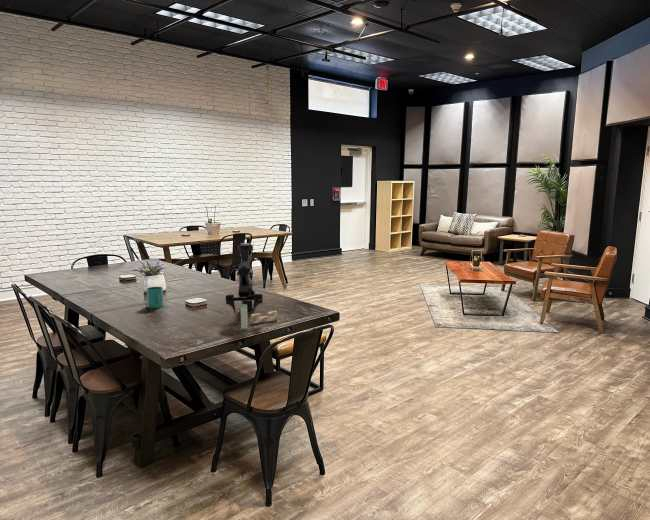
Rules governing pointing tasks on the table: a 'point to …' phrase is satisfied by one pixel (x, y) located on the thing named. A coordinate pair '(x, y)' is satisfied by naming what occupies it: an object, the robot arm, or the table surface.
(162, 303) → the cup
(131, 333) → the table surface
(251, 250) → the robot arm
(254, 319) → the birch rail
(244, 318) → the tall green pillar
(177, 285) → the table surface
